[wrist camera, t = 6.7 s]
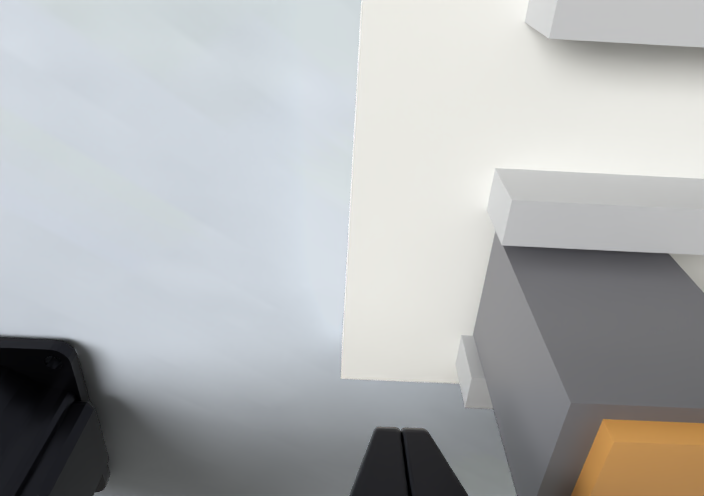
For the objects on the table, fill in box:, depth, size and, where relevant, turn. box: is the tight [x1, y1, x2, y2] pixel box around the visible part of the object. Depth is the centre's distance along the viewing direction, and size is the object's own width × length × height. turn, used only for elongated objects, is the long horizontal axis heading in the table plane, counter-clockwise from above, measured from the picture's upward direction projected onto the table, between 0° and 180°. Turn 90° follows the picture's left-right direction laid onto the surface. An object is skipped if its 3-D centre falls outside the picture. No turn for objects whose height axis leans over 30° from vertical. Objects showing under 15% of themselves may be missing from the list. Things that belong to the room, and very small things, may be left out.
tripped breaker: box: [473, 231, 704, 496], centre depth 11 cm, size 4×3×5 cm
